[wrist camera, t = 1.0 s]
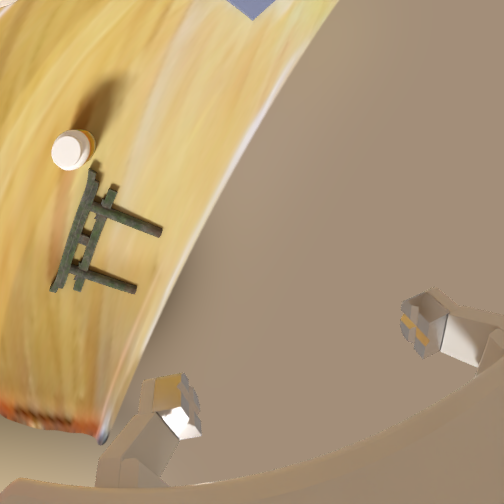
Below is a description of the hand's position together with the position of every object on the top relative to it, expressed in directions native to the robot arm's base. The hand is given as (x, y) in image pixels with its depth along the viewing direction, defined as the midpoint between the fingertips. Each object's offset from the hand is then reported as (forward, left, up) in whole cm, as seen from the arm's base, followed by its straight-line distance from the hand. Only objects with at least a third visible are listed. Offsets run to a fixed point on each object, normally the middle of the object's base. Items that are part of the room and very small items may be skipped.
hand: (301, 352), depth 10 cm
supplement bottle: (-14, -4, -41) cm, 43 cm away
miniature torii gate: (-2, -15, -42) cm, 44 cm away
